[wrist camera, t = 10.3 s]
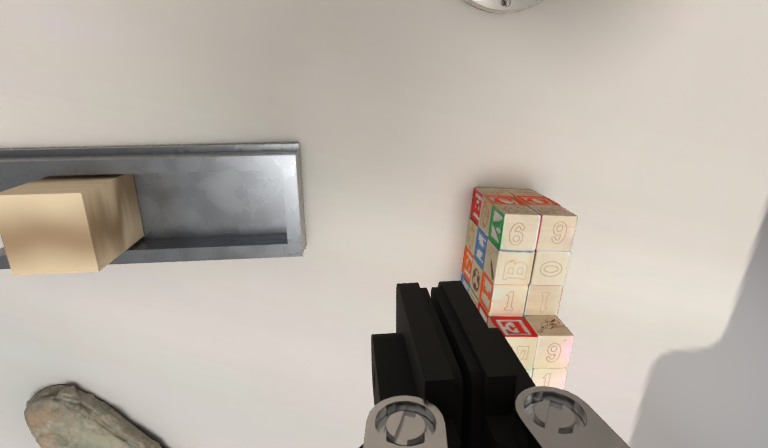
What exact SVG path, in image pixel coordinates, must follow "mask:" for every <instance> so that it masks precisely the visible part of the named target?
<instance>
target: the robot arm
mask: <svg viewBox="0 0 768 448" xmlns="http://www.w3.org/2000/svg"><path fill="white" fill-rule="evenodd" d="M464 1H466V2H467V3H469V4H471V5H472V6H474V7H476V8H478V9H481V10H485V11H488V12H493V13H510V12H516V11H520V10H523V9H526V8H529V7H531V6H533V5H535V4H537V3H539V2H541V1H543V0H504V1H505V5H504V6H502V4H501V0H464ZM371 351H372V380H373V395H374V405H375V406H374V407H373V409H372V410H371V411H370V412H369V415H368V418H367V421H366V428H365V436H364V444H363V445H362V446H360V447H359V448H630V447H629V446H628V445H627V444H626V443H625V442H624V441H623V440H622V439H621V438H620V437H619V436H618V435H617V434H616V433H615V432H614V431H613V430H612V429H611V428H610V427H609V426H608V425H607V424H606V422H605V421H604V420H603V419H602V418H601V417H600V416H599V415H598V414H597V413H596V412H595V411H594V410H593V409H592V408H591V407H590V406H589V405H588V404H587V403H585V402H584V401H583V400H582V399H580V398H579V397H578V396H576V395H574V394H572V393H570V392H568V391H565V390H562V389H559V388H556V387H548V386H536V385H535V384H534V382H533V380H532V379H531V377H530V376H529V374H528V373H527V371H526V369H525V368H524V366H523V365H522V363H521V362H520V360H519V358H518V357H517V355H516V354H515V352H514V351H513V349H512V347H511V346H510V344H509V343H508V341H507V340H506V338H505V336H504V335H503V333H502V332H501V330H500V329H499V328H496V327H494V328H489V327H488V325H487V324H486V322H485V320H484V319H483V317H482V315H481V314H480V312H479V310H478V309H477V307H476V305H475V304H474V302H473V300H472V299H471V297H470V295H469V293H468V292H467V290H466V288H465V287H464V285H463V283H462V282H461V281H444V282H439V284H438V287H432V289H431V298H430V295H429V293H428V290H427V288H420V286H419V284H418V283H402V284H397V288H396V333H388V334H372V336H371Z"/></svg>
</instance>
